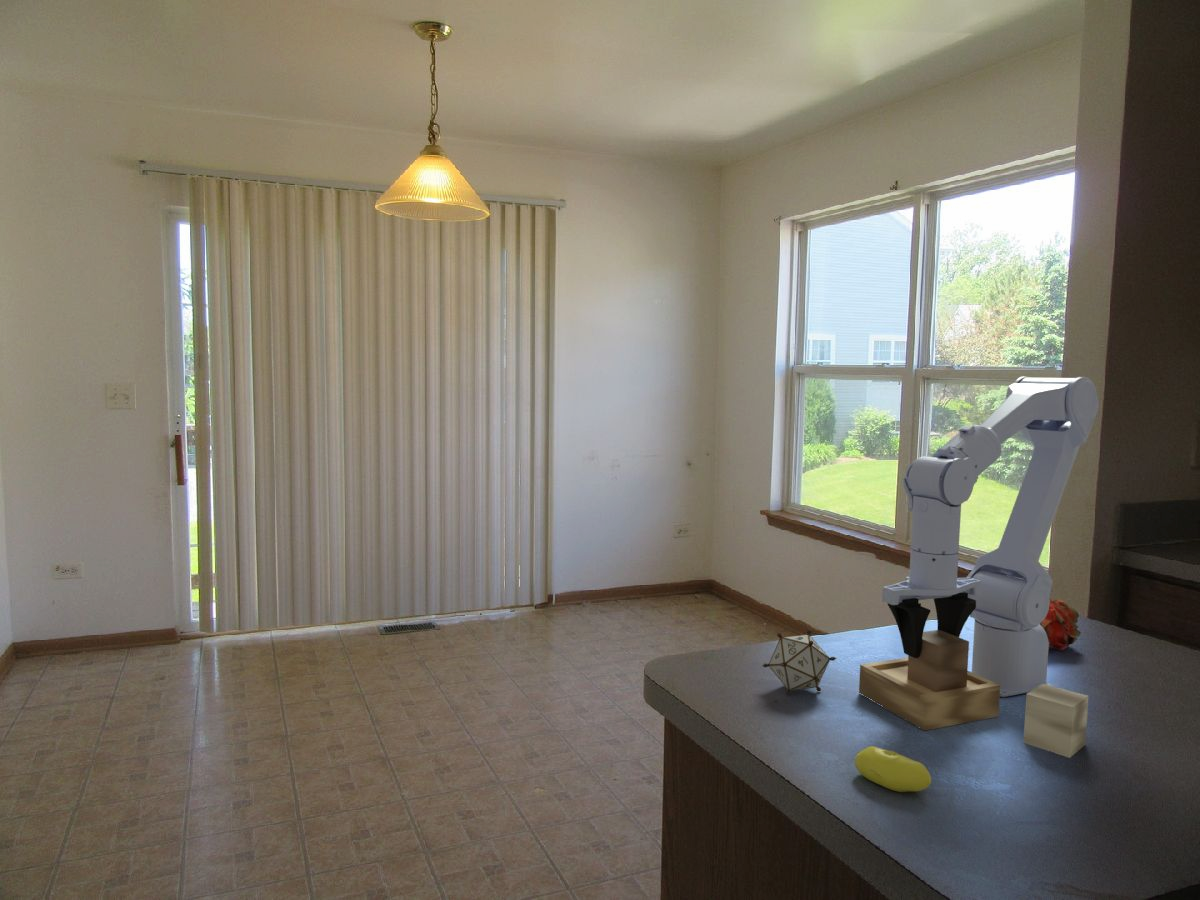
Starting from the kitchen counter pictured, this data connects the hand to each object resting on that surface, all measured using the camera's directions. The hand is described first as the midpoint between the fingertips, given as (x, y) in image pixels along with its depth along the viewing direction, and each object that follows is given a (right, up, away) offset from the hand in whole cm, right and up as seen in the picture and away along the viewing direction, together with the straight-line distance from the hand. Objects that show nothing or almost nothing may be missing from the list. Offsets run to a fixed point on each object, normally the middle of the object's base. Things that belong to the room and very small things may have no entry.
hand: (929, 652), depth 105 cm
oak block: (0, -7, +1) cm, 7 cm away
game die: (-16, -7, +5) cm, 18 cm away
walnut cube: (+1, -4, -1) cm, 4 cm away
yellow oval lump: (-12, -9, -20) cm, 25 cm away
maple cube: (+11, -8, -10) cm, 17 cm away
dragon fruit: (+28, -5, +24) cm, 37 cm away
